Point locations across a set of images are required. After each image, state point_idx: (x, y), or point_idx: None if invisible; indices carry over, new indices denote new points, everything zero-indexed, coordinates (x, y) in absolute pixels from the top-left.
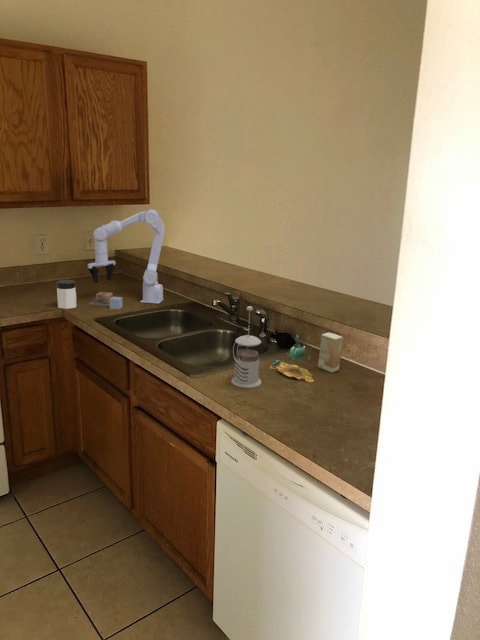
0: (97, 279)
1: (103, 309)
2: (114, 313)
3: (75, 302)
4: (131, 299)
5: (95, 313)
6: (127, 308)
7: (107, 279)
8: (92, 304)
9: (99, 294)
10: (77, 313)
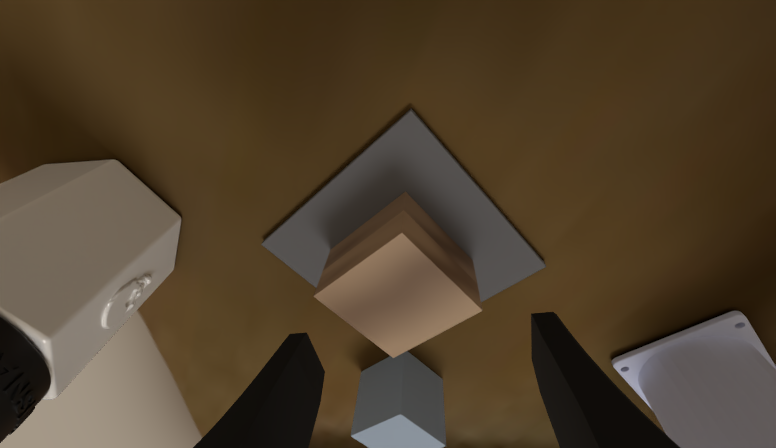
0: (306, 423)
1: (328, 359)
2: (351, 422)
3: (147, 297)
4: (636, 272)
5: None
6: (455, 399)
7: (533, 323)
8: (294, 269)
9: (348, 303)
10: (175, 351)
